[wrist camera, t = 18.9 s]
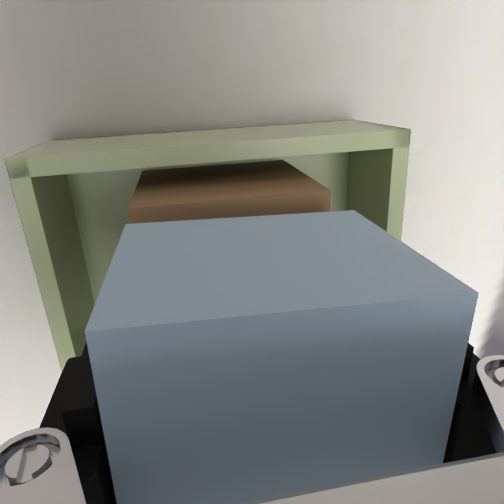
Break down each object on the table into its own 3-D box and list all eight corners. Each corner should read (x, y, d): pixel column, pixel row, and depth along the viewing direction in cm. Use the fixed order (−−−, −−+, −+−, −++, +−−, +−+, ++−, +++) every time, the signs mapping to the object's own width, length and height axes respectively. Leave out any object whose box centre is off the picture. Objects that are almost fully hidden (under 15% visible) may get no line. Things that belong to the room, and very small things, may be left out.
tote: (50, 140, 17) (4, 158, 12) (353, 119, 19) (410, 129, 14) (93, 330, 20) (69, 400, 16) (346, 297, 22) (390, 351, 18)
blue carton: (125, 224, 10) (85, 331, 6) (354, 210, 11) (478, 293, 7) (150, 414, 12) (135, 603, 8) (339, 389, 13) (425, 545, 9)
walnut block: (142, 170, 17) (127, 208, 12) (283, 159, 18) (331, 190, 12) (161, 298, 19) (155, 381, 14) (285, 283, 20) (326, 355, 15)
